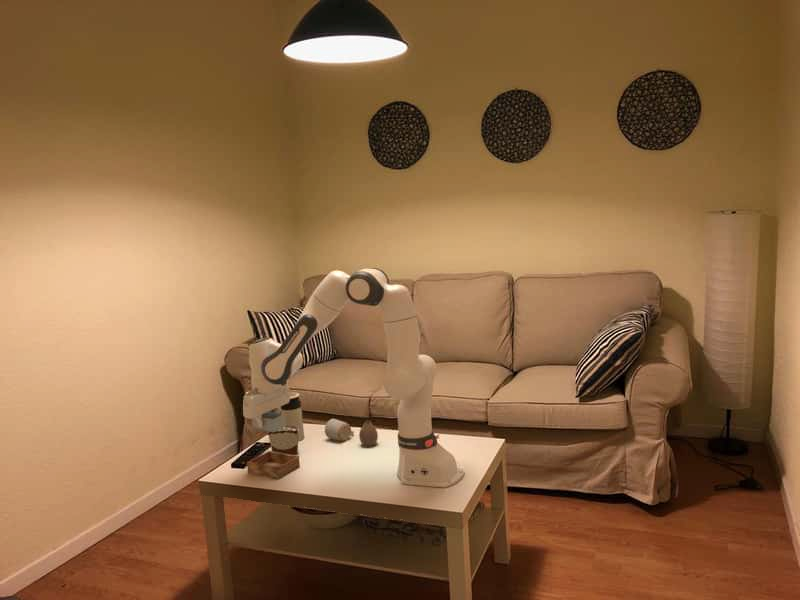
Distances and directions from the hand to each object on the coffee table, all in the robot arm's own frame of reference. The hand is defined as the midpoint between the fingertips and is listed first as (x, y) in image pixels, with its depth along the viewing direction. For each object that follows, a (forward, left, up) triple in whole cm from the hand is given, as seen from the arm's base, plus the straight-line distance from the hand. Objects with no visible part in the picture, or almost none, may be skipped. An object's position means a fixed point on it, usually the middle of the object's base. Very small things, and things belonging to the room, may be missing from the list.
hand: (269, 423), depth 240 cm
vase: (-18, -33, -18) cm, 41 cm away
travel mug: (+14, -27, -18) cm, 35 cm away
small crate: (0, 0, -2) cm, 2 cm away
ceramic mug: (-3, -35, -18) cm, 39 cm away
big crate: (0, 0, -17) cm, 17 cm away
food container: (+7, -15, -18) cm, 24 cm away
